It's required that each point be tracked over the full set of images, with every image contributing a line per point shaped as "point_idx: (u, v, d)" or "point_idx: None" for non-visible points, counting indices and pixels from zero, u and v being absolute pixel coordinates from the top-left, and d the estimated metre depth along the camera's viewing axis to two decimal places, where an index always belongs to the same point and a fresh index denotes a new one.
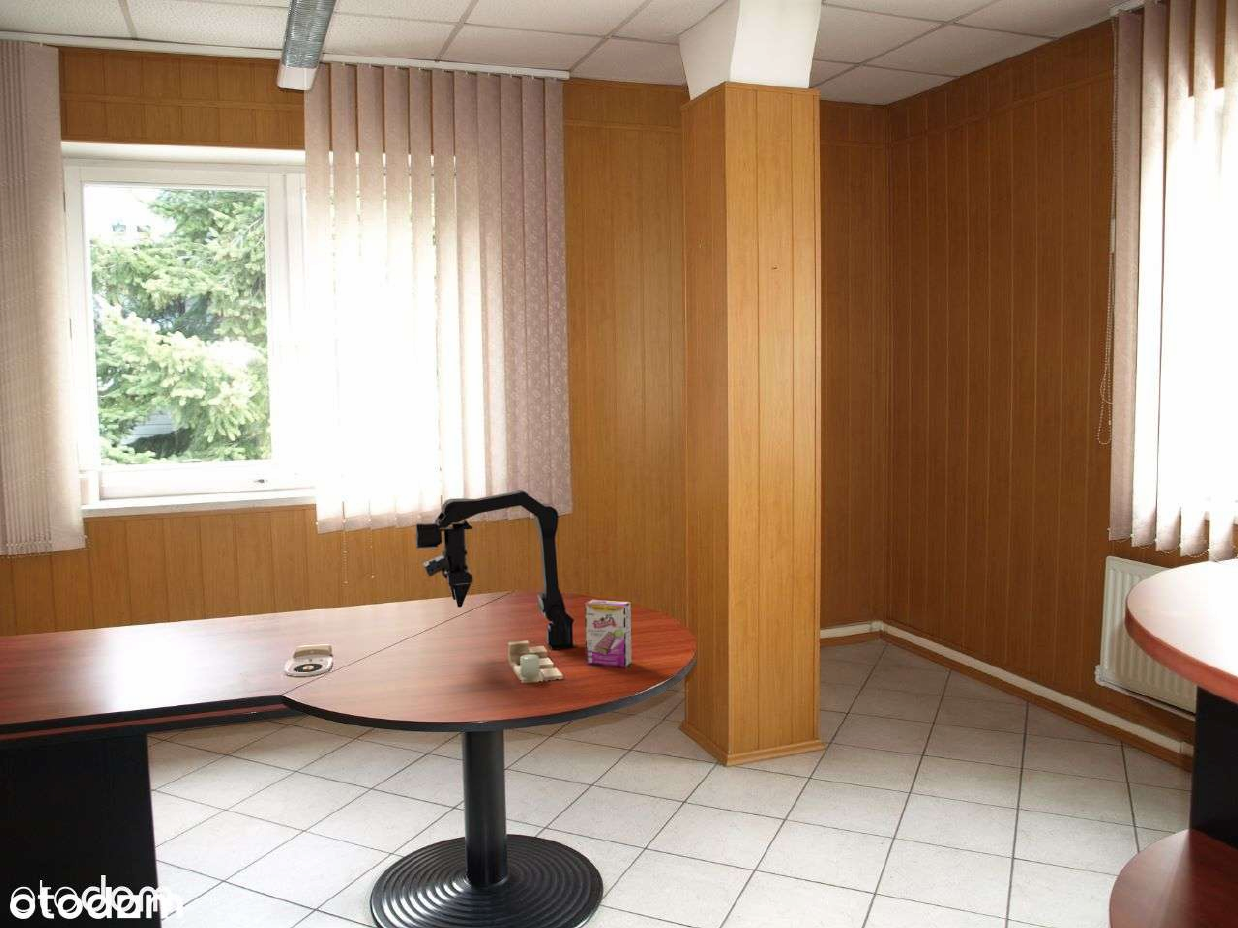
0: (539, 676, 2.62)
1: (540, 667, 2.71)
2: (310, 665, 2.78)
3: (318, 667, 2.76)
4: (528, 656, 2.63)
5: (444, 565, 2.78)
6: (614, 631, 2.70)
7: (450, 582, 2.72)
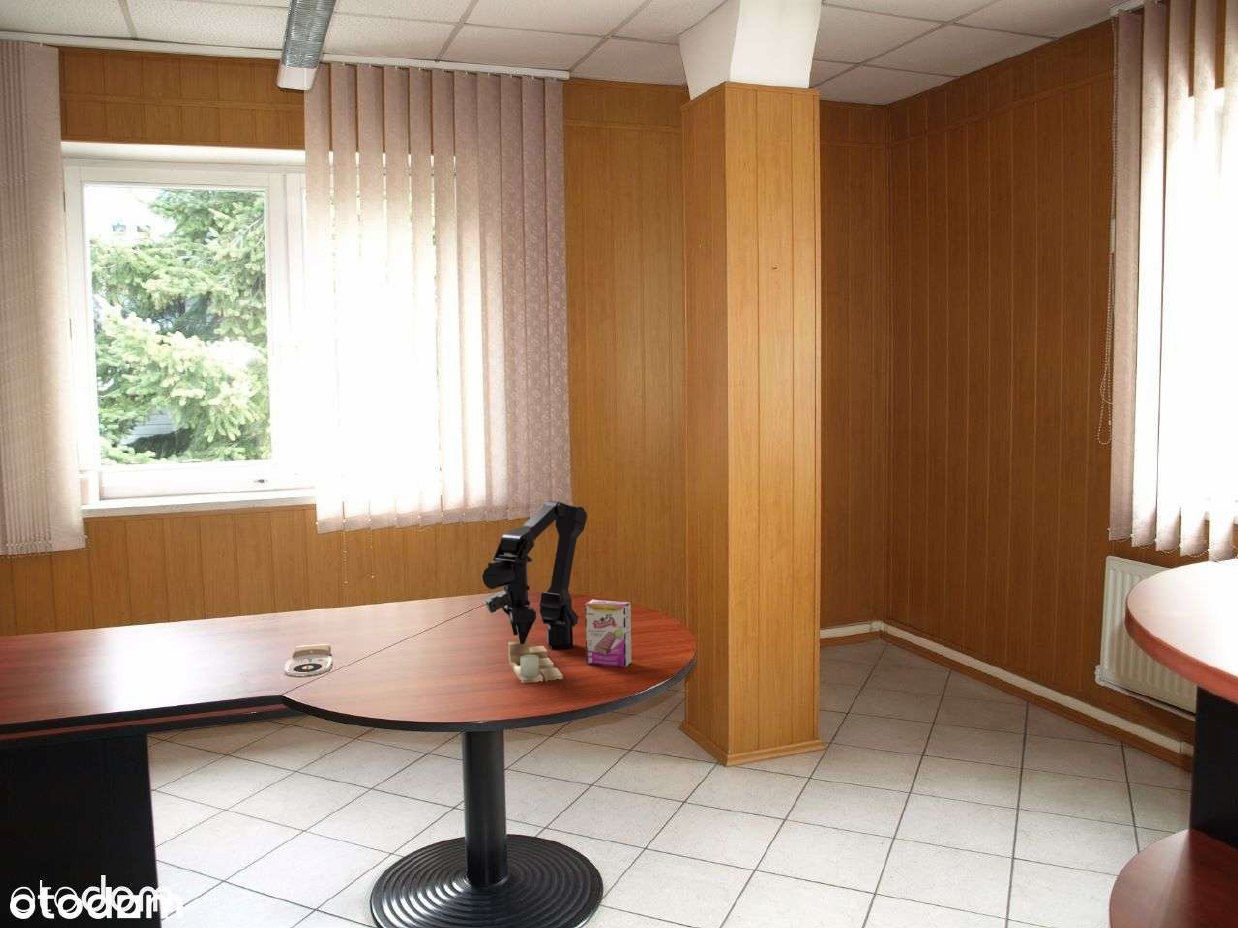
0: (539, 676, 2.62)
1: (540, 667, 2.71)
2: (310, 665, 2.78)
3: (318, 667, 2.76)
4: (528, 656, 2.63)
5: (506, 601, 2.71)
6: (614, 631, 2.70)
7: (514, 619, 2.66)
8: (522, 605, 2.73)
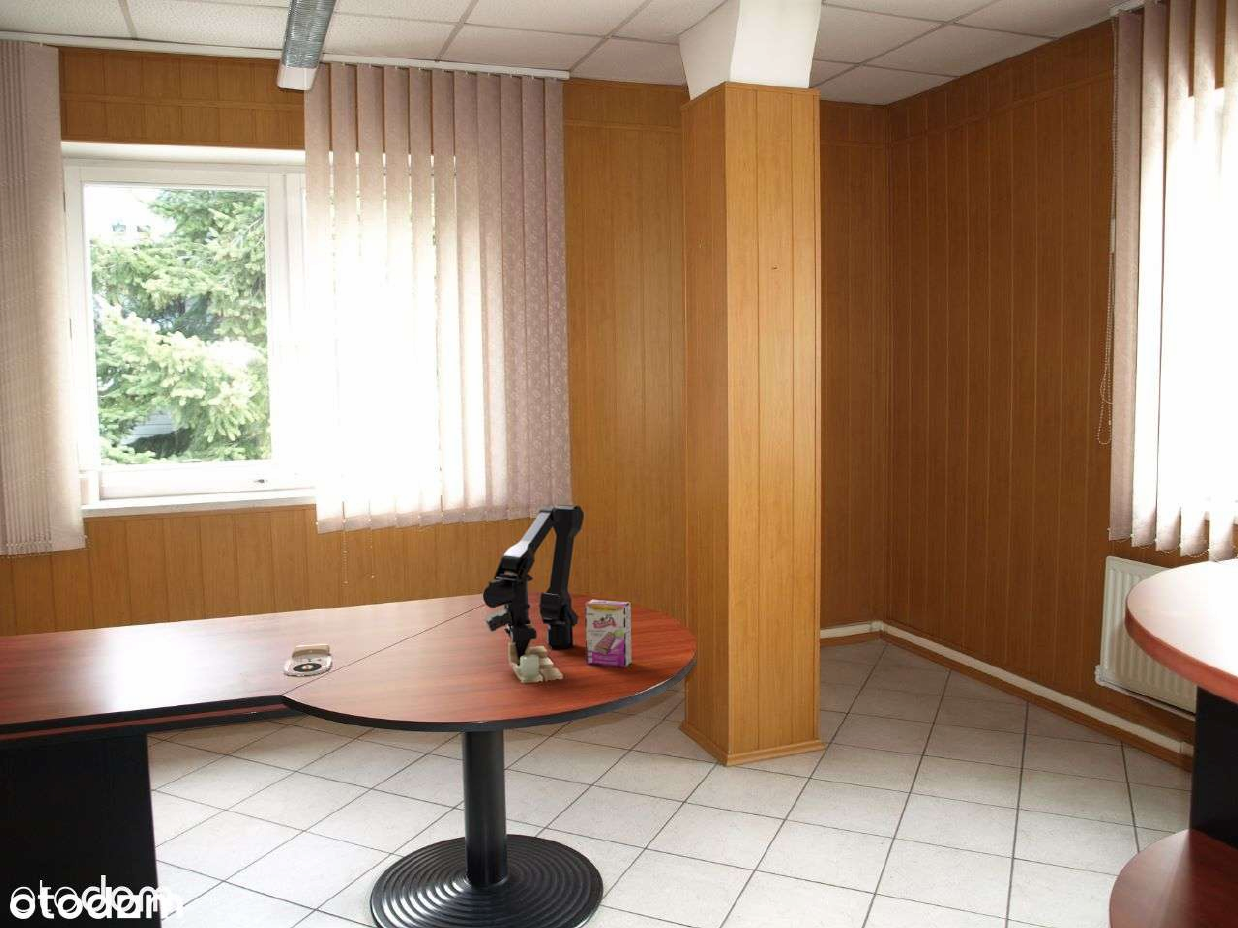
0: (539, 676, 2.62)
1: (540, 667, 2.71)
2: (309, 665, 2.78)
3: (317, 666, 2.76)
4: (528, 656, 2.63)
5: (507, 620, 2.72)
6: (614, 631, 2.70)
7: (514, 638, 2.66)
8: (522, 624, 2.73)
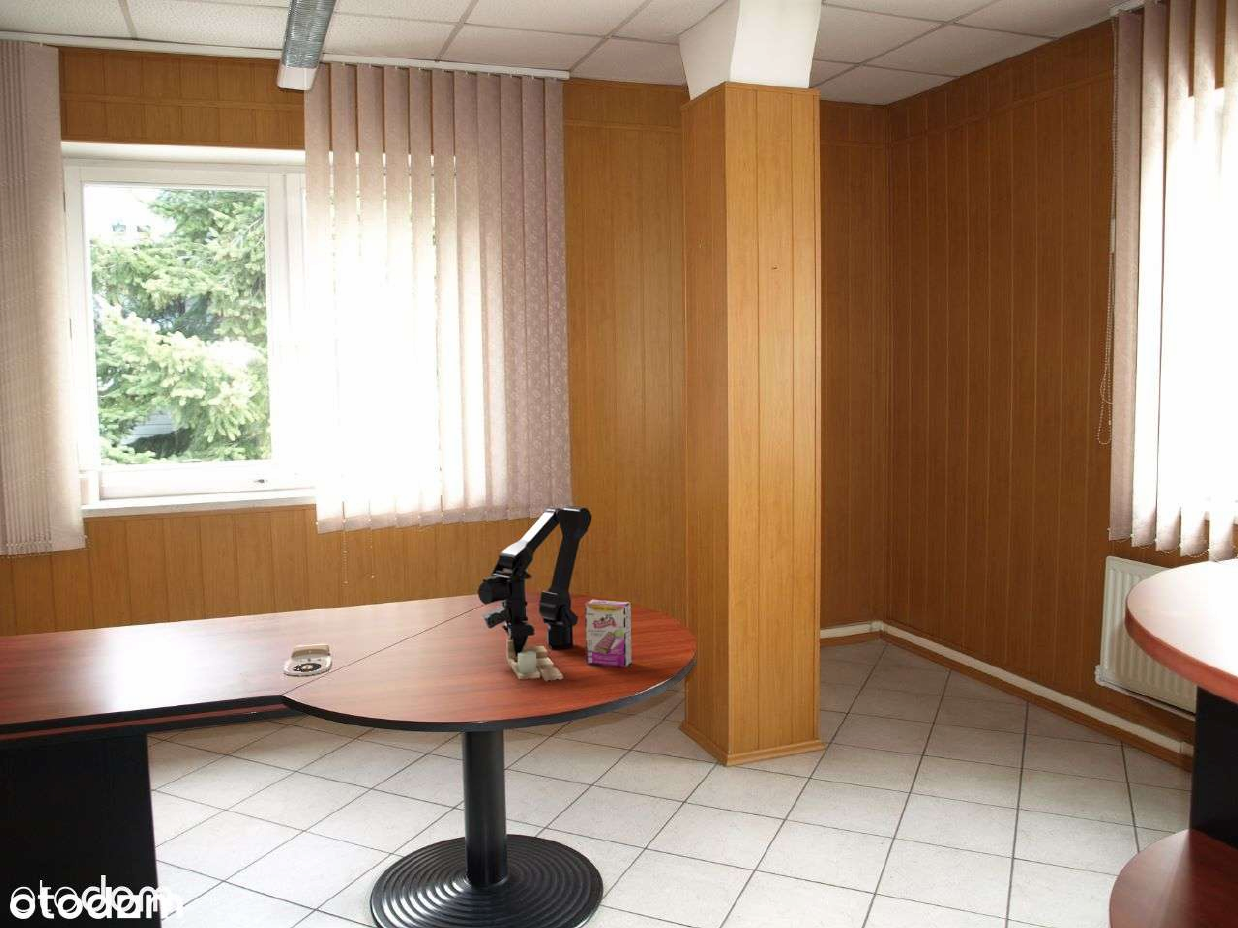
0: (536, 672, 2.65)
1: (540, 667, 2.71)
2: (309, 665, 2.78)
3: (317, 666, 2.76)
4: (525, 652, 2.66)
5: (505, 617, 2.75)
6: (614, 631, 2.70)
7: (512, 635, 2.69)
8: (520, 621, 2.76)
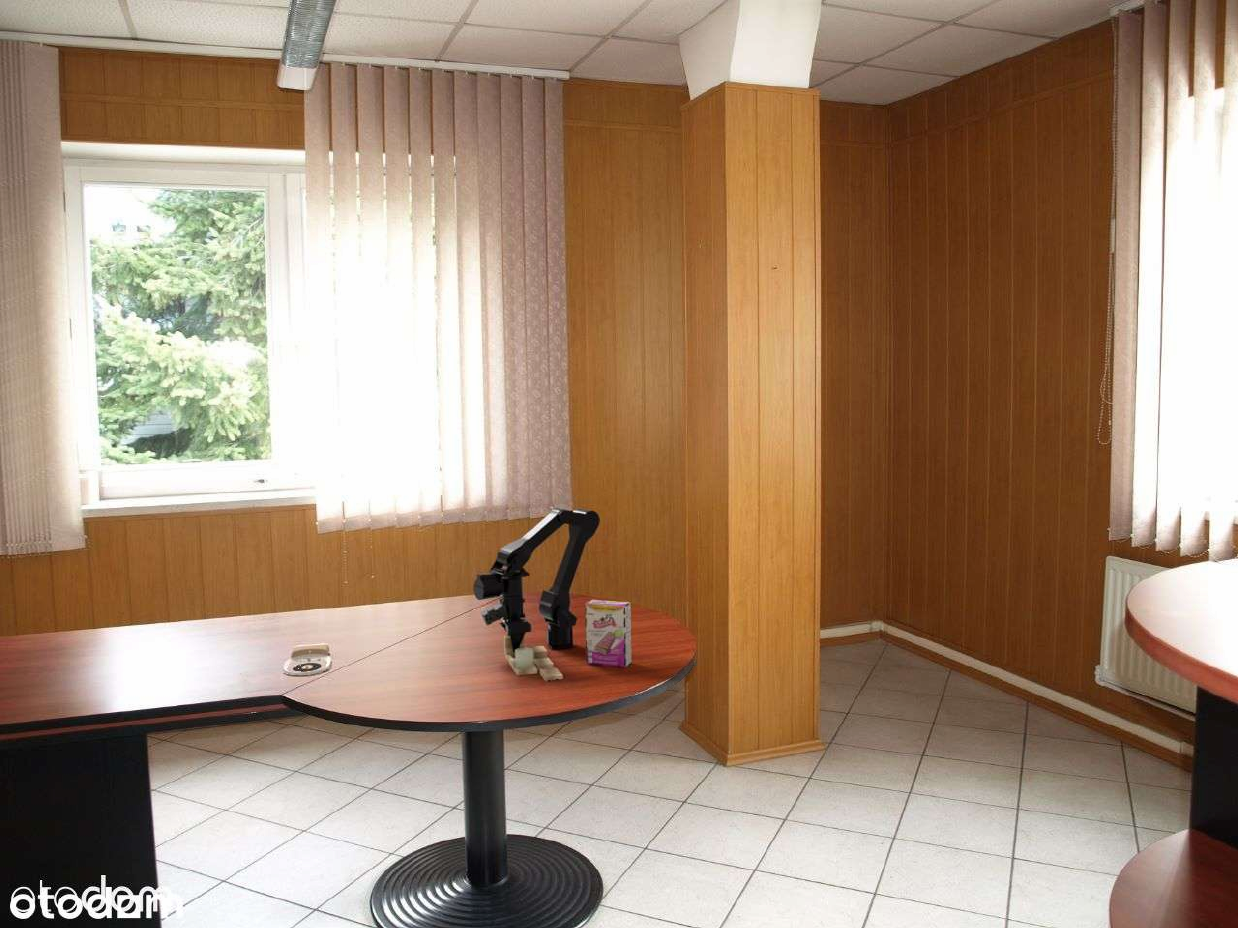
0: (533, 668, 2.68)
1: (540, 667, 2.71)
2: (309, 664, 2.78)
3: (317, 666, 2.76)
4: (523, 649, 2.70)
5: (502, 613, 2.78)
6: (614, 631, 2.70)
7: (509, 631, 2.73)
8: (517, 617, 2.80)
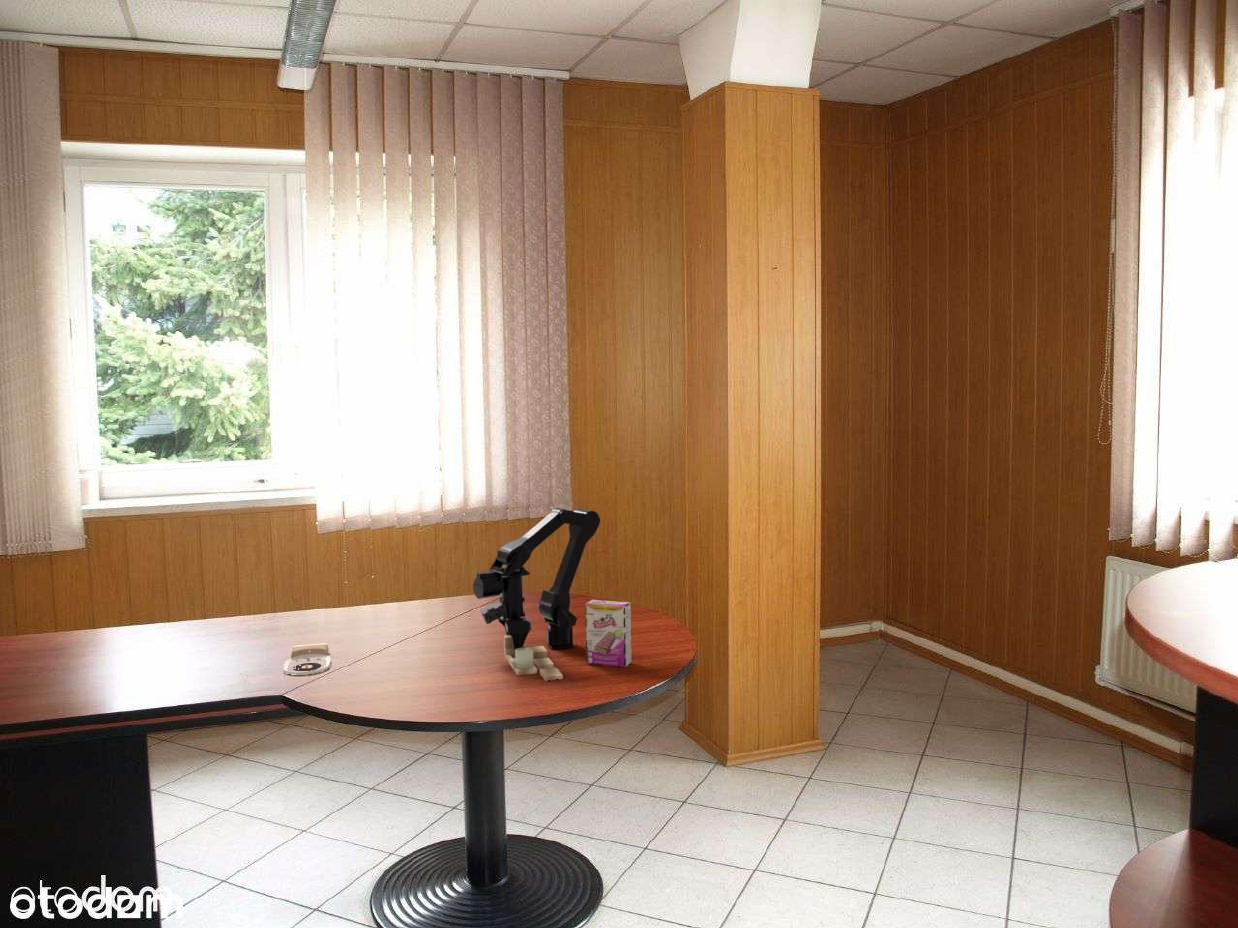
0: (533, 668, 2.68)
1: (540, 667, 2.71)
2: (309, 664, 2.78)
3: (317, 666, 2.77)
4: (523, 649, 2.70)
5: (502, 612, 2.79)
6: (614, 631, 2.70)
7: (509, 630, 2.73)
8: (517, 616, 2.80)
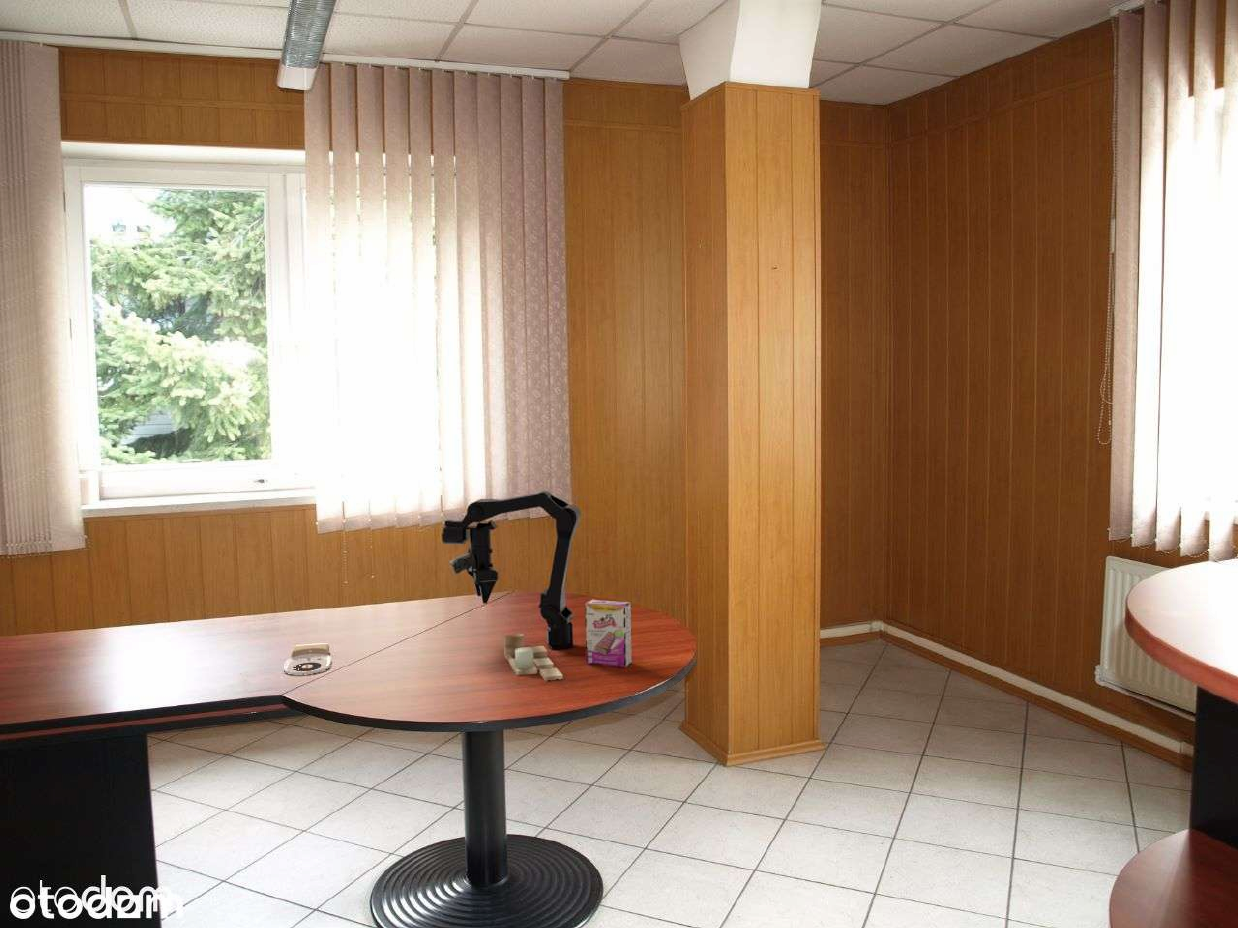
0: (533, 668, 2.68)
1: (540, 667, 2.71)
2: (309, 664, 2.79)
3: (317, 666, 2.77)
4: (523, 649, 2.70)
5: (470, 563, 2.89)
6: (614, 631, 2.70)
7: (477, 579, 2.84)
8: (485, 567, 2.91)
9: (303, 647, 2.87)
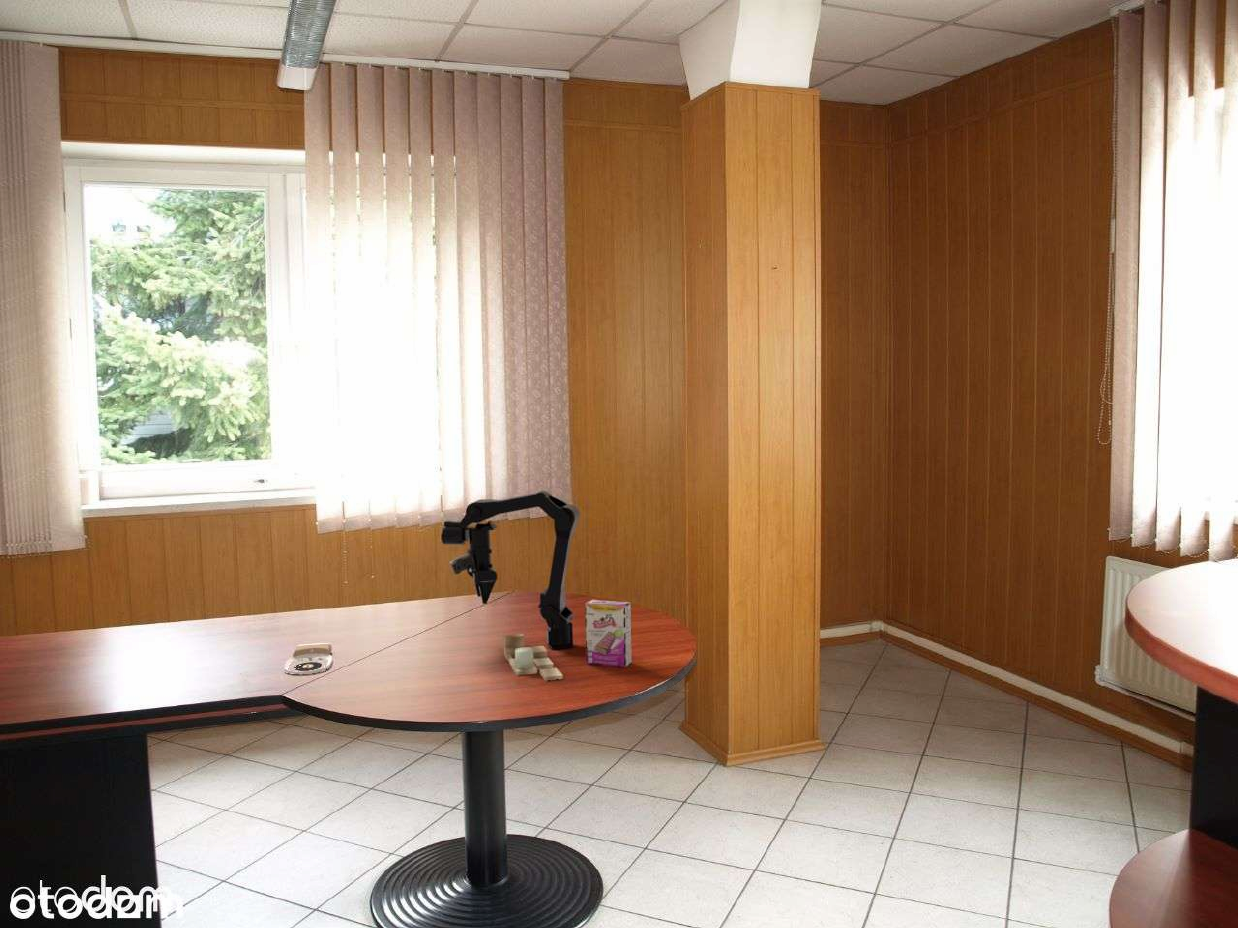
0: (533, 668, 2.68)
1: (540, 667, 2.71)
2: (310, 664, 2.79)
3: (318, 666, 2.77)
4: (523, 649, 2.70)
5: (470, 563, 2.90)
6: (614, 631, 2.70)
7: (476, 579, 2.84)
8: (485, 567, 2.91)
9: (305, 647, 2.87)
